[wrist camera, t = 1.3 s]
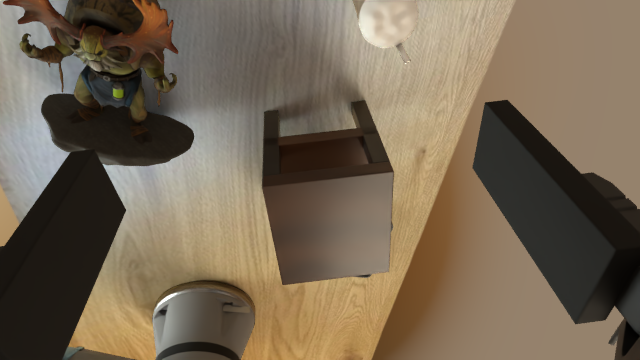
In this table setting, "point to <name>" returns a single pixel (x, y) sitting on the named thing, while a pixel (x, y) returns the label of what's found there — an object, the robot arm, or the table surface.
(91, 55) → the figurine
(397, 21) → the milkshake
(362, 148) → the small wooden side table
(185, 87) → the table surface
